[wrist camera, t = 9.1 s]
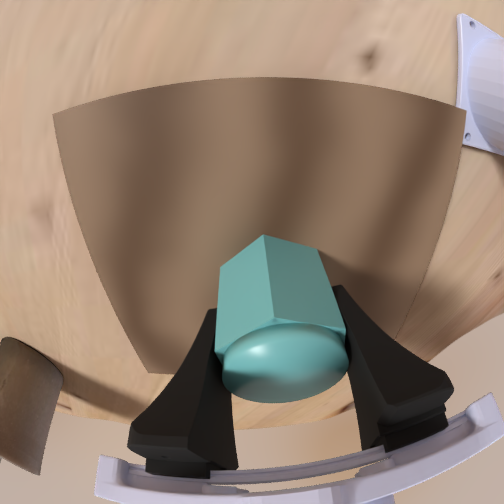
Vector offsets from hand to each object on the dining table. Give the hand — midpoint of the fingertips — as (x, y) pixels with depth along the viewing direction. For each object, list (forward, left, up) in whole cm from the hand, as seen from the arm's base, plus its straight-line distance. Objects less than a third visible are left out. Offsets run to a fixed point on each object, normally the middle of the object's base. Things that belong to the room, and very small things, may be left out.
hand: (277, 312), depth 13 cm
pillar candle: (+28, +14, -4) cm, 32 cm away
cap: (0, 0, -2) cm, 2 cm away
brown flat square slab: (0, 0, -4) cm, 4 cm away
